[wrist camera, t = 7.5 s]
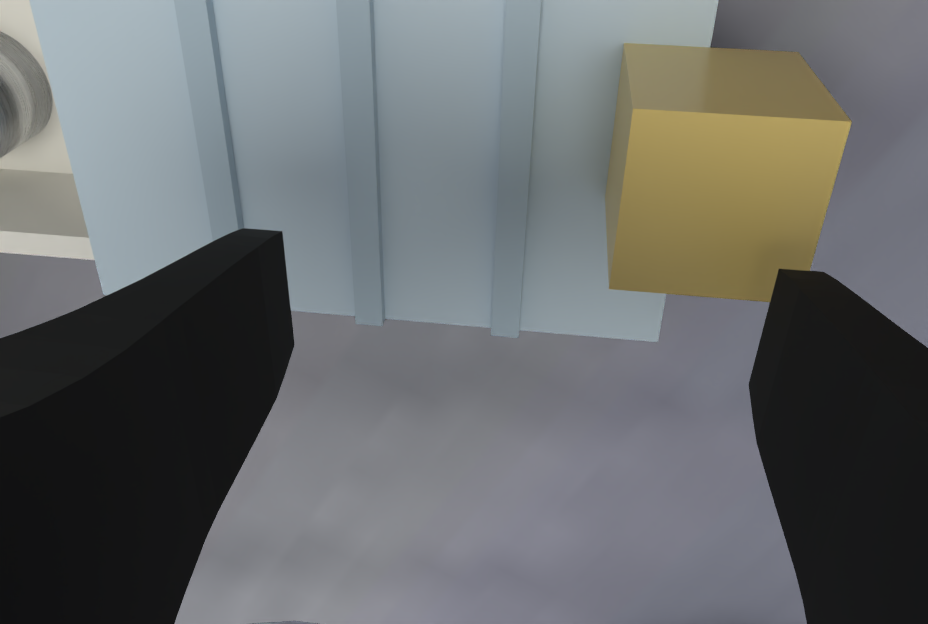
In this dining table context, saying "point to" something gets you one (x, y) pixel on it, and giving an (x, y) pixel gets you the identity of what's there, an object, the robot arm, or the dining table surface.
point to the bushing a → (21, 95)
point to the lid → (447, 152)
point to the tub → (39, 173)
